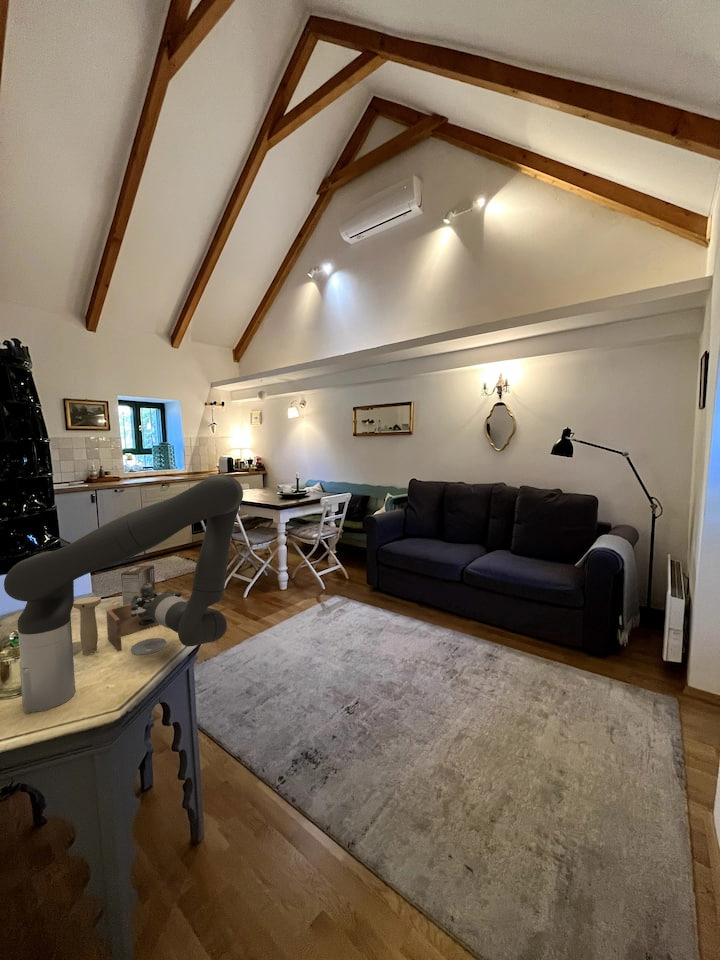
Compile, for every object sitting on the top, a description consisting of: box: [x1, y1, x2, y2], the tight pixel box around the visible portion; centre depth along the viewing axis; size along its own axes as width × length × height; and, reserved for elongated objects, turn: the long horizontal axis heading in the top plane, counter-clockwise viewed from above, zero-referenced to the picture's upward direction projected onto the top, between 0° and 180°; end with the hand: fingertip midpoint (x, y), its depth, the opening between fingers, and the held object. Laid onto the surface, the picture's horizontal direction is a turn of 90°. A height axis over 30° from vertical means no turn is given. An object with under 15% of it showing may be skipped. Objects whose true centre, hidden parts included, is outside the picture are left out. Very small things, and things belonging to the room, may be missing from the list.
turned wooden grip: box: [72, 596, 102, 656], centre depth 108 cm, size 5×6×15 cm
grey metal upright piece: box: [138, 581, 157, 626], centre depth 111 cm, size 6×6×12 cm
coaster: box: [130, 637, 167, 656], centre depth 112 cm, size 9×9×1 cm
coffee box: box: [120, 564, 156, 606], centre depth 134 cm, size 9×6×16 cm
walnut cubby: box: [105, 596, 189, 652], centre depth 120 cm, size 20×10×9 cm, turn 135°
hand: (143, 596), depth 113 cm, fingers closed on grey metal upright piece, 3 cm apart
